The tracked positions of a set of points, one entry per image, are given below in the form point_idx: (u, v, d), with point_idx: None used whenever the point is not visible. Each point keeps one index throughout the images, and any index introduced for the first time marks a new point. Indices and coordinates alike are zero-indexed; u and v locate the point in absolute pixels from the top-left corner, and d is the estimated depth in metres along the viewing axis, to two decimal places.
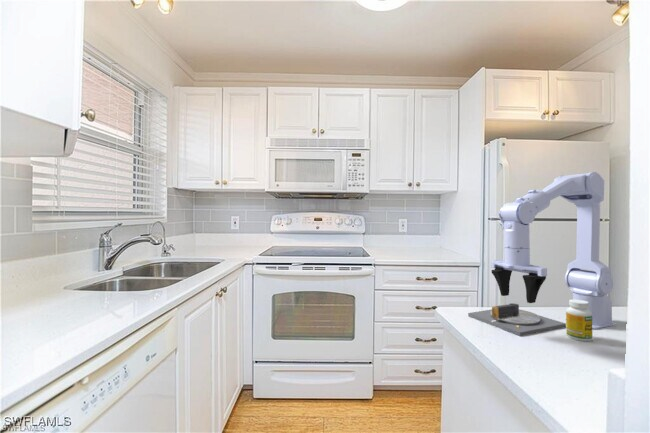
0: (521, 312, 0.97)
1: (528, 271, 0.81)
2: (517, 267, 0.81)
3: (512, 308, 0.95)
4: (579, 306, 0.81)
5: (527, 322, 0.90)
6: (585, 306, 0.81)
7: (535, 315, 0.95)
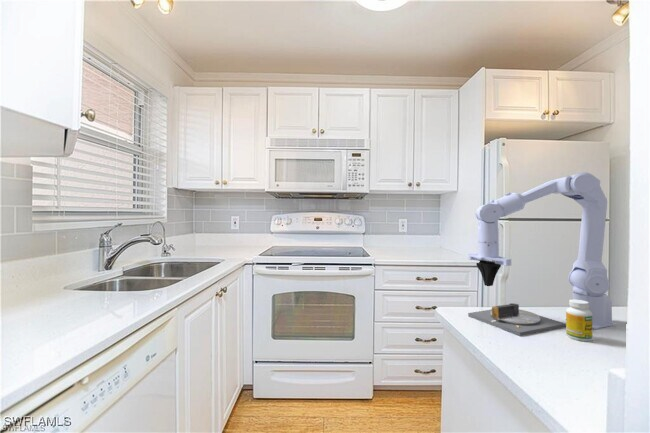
0: (521, 312, 0.97)
1: (496, 262, 0.96)
2: (487, 258, 0.97)
3: (512, 308, 0.95)
4: (579, 306, 0.81)
5: (527, 322, 0.90)
6: (585, 306, 0.81)
7: (535, 315, 0.95)
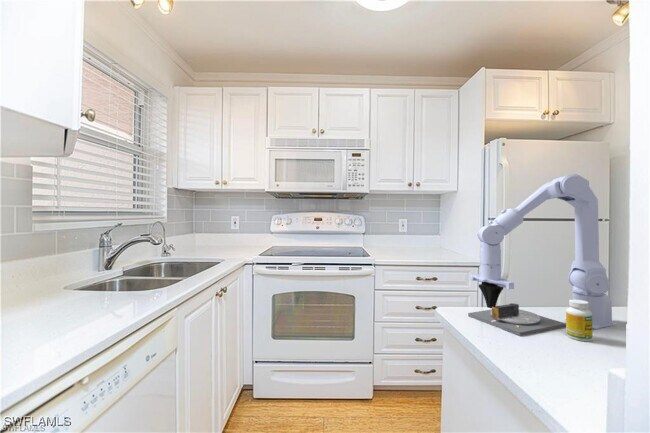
0: (521, 312, 0.97)
1: (499, 284, 0.96)
2: (490, 281, 0.96)
3: (512, 308, 0.95)
4: (579, 306, 0.81)
5: (527, 322, 0.90)
6: (585, 306, 0.81)
7: (535, 315, 0.95)
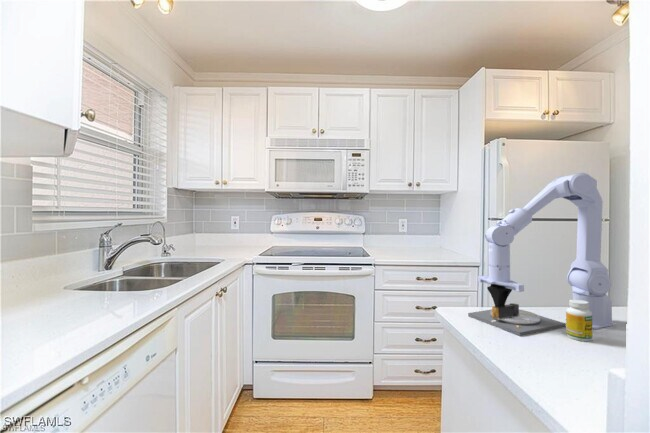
0: (521, 312, 0.97)
1: (508, 286, 0.93)
2: (499, 283, 0.93)
3: (512, 308, 0.95)
4: (579, 306, 0.81)
5: (527, 322, 0.90)
6: (585, 306, 0.81)
7: (535, 315, 0.95)
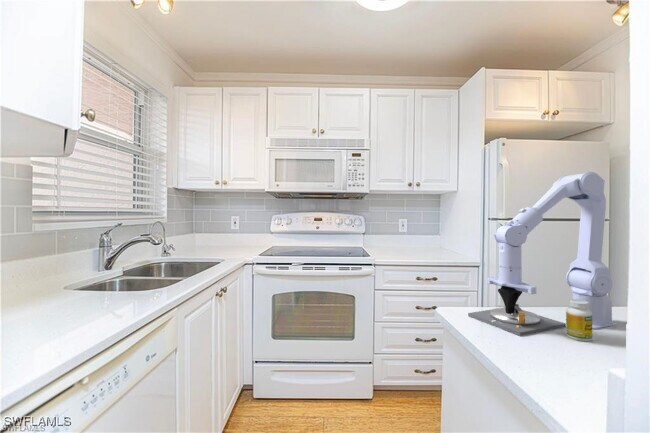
0: None
1: (520, 289, 0.89)
2: (510, 285, 0.90)
3: None
4: (579, 306, 0.81)
5: None
6: (585, 306, 0.81)
7: None
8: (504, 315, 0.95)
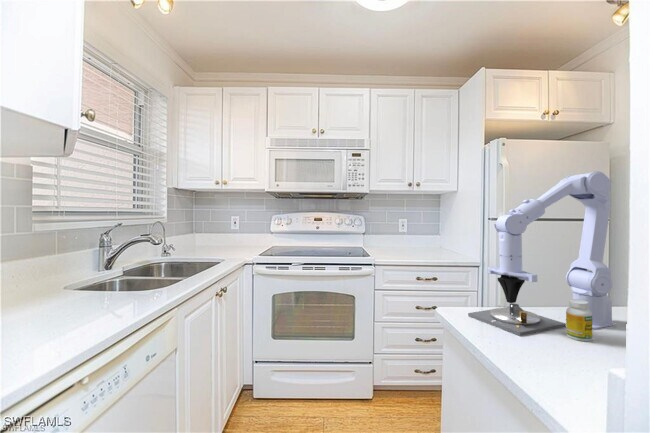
0: (510, 311, 0.99)
1: (520, 277, 0.89)
2: (510, 273, 0.90)
3: None
4: (579, 306, 0.81)
5: None
6: (585, 306, 0.81)
7: None
8: (505, 316, 0.94)
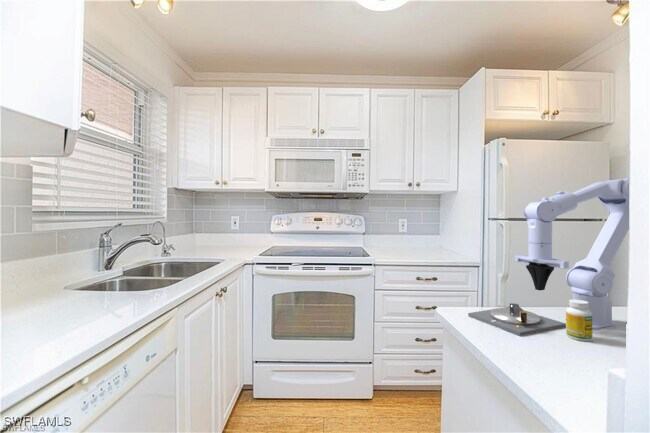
0: (510, 311, 0.99)
1: (551, 264, 0.89)
2: (541, 260, 0.89)
3: None
4: (579, 306, 0.81)
5: None
6: (585, 306, 0.81)
7: None
8: (505, 316, 0.94)
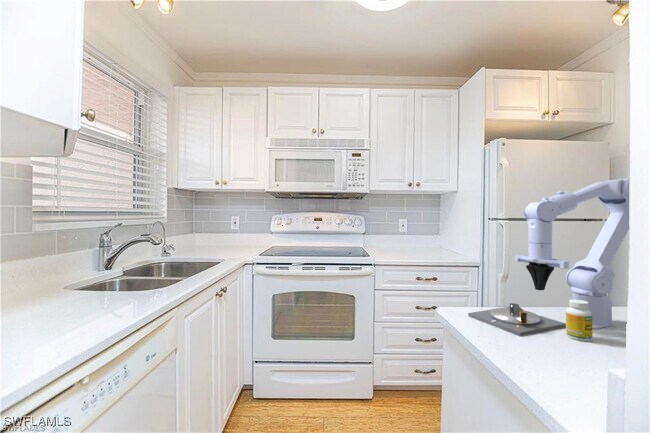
0: (510, 311, 0.99)
1: (551, 264, 0.89)
2: (541, 260, 0.89)
3: None
4: (579, 306, 0.81)
5: None
6: (585, 306, 0.81)
7: None
8: (505, 316, 0.94)
